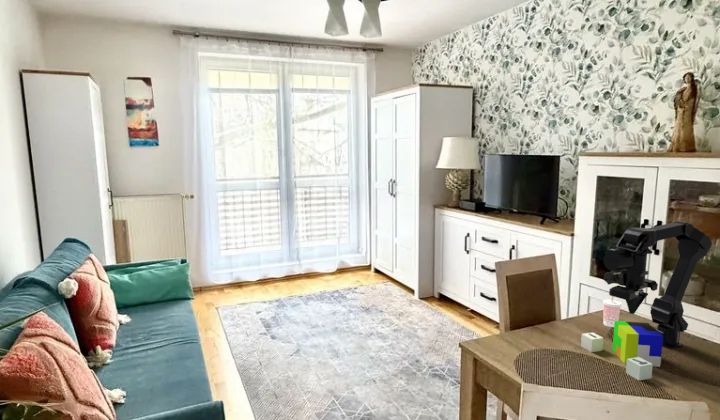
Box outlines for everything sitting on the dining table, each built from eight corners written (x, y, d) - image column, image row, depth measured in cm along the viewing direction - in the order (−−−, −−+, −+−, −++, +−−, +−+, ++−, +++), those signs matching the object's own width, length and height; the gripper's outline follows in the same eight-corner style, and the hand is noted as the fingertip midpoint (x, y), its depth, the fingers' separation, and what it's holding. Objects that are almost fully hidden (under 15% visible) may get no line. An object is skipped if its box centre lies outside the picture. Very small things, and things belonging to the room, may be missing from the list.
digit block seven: (637, 370, 129) (639, 356, 128) (651, 378, 125) (652, 363, 124) (625, 373, 128) (627, 358, 127) (638, 380, 124) (640, 365, 123)
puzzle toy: (660, 367, 131) (663, 336, 130) (624, 364, 133) (626, 333, 132) (645, 351, 141) (648, 323, 139) (612, 349, 143) (614, 320, 141)
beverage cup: (619, 329, 158) (622, 293, 156) (600, 325, 161) (603, 290, 159) (619, 323, 163) (622, 288, 161) (601, 320, 166) (604, 285, 164)
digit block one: (592, 344, 146) (592, 331, 146) (602, 350, 142) (603, 337, 141) (580, 346, 145) (581, 333, 144) (591, 352, 141) (592, 338, 140)
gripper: (624, 257, 149) (621, 300, 152) (594, 266, 140) (591, 312, 142) (660, 264, 140) (656, 310, 142) (630, 274, 130) (626, 323, 133)
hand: (631, 313), depth 140 cm, fingers closed
